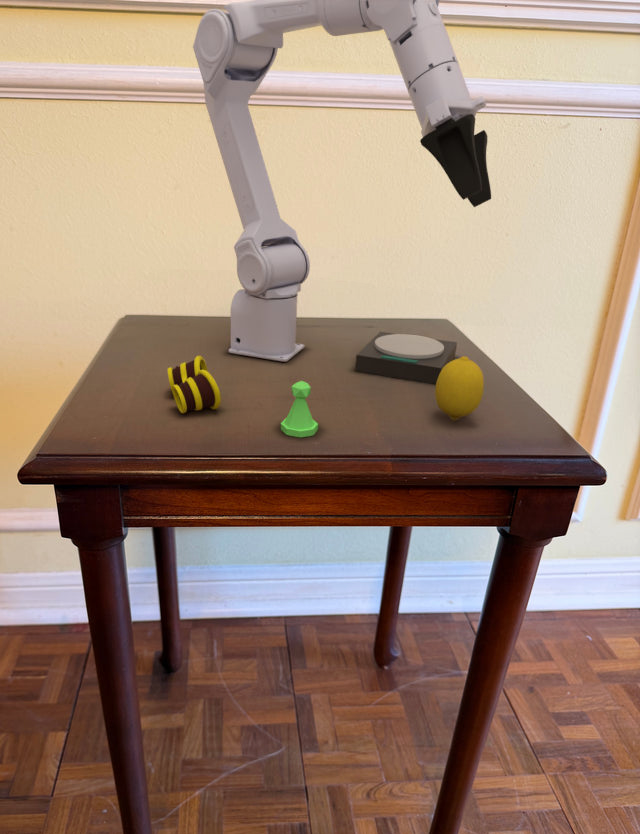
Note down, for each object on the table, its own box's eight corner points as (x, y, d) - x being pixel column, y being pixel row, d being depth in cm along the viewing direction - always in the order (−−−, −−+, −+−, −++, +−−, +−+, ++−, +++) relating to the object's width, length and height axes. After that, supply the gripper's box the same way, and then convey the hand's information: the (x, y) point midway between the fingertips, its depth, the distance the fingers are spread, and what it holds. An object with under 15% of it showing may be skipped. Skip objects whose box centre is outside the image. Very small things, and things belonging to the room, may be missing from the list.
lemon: (478, 431, 80) (490, 366, 76) (430, 426, 81) (440, 361, 77) (476, 413, 85) (487, 351, 81) (431, 409, 86) (440, 347, 82)
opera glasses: (171, 394, 89) (162, 359, 87) (210, 384, 90) (202, 349, 88) (182, 424, 81) (172, 386, 79) (224, 413, 82) (216, 375, 79)
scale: (355, 371, 97) (356, 350, 96) (378, 346, 108) (380, 327, 107) (438, 384, 94) (442, 363, 92) (454, 357, 104) (457, 338, 103)
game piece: (316, 422, 81) (319, 374, 78) (319, 437, 77) (322, 387, 74) (280, 421, 81) (281, 373, 78) (281, 437, 77) (282, 387, 74)
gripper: (456, 34, 65) (506, 170, 67) (478, 75, 78) (520, 189, 79) (390, 76, 69) (438, 205, 70) (421, 109, 82) (462, 218, 83)
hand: (477, 199), depth 75 cm, fingers open, 7 cm apart
